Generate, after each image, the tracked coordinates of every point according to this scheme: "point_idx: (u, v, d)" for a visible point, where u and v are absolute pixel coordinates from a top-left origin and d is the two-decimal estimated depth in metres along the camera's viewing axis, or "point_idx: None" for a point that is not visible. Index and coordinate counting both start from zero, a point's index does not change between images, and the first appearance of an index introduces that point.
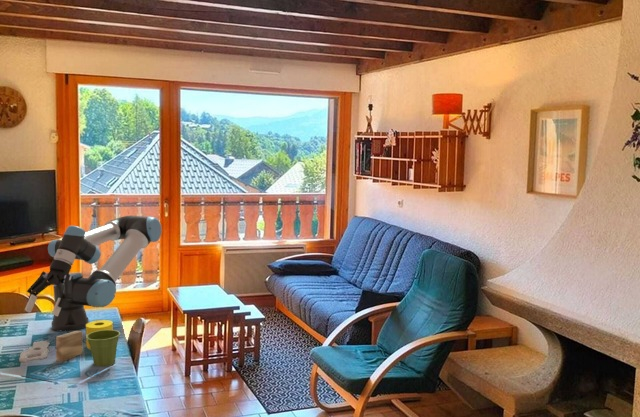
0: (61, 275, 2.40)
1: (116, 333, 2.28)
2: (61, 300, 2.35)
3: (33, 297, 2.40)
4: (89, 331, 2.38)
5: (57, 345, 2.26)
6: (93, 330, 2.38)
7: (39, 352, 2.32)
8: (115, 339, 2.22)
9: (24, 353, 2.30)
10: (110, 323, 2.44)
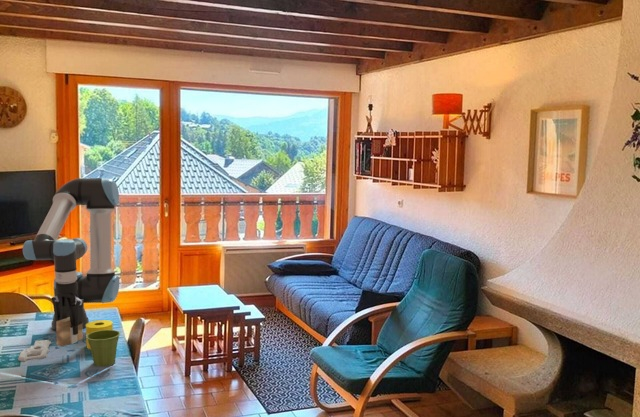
0: (72, 298, 2.26)
1: (116, 333, 2.28)
2: (74, 328, 2.29)
3: None
4: (89, 331, 2.38)
5: (57, 330, 2.26)
6: (93, 330, 2.38)
7: (39, 351, 2.33)
8: (115, 339, 2.22)
9: (24, 352, 2.31)
10: (110, 323, 2.44)
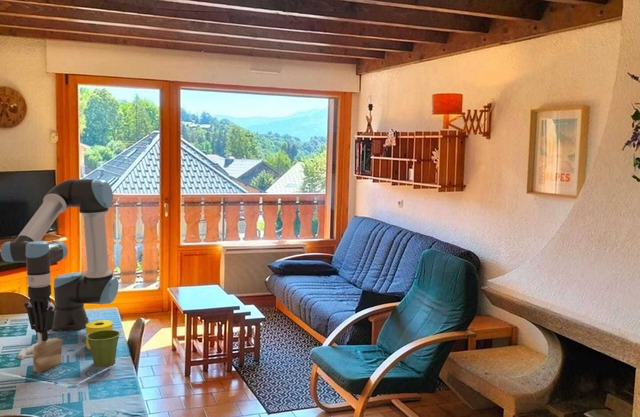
0: (44, 302, 2.16)
1: (116, 333, 2.28)
2: (43, 334, 2.19)
3: None
4: (89, 331, 2.38)
5: (34, 355, 2.16)
6: (93, 330, 2.38)
7: None
8: (115, 339, 2.22)
9: (24, 350, 2.34)
10: (110, 323, 2.44)
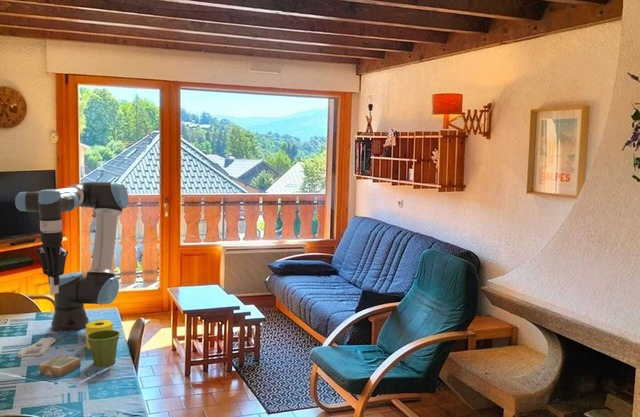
0: (56, 247, 2.26)
1: (116, 333, 2.28)
2: (55, 279, 2.29)
3: None
4: (89, 331, 2.38)
5: (52, 368, 2.13)
6: (93, 330, 2.38)
7: (38, 349, 2.36)
8: (115, 339, 2.22)
9: (24, 349, 2.35)
10: (110, 323, 2.44)
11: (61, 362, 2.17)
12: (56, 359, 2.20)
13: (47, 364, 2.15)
